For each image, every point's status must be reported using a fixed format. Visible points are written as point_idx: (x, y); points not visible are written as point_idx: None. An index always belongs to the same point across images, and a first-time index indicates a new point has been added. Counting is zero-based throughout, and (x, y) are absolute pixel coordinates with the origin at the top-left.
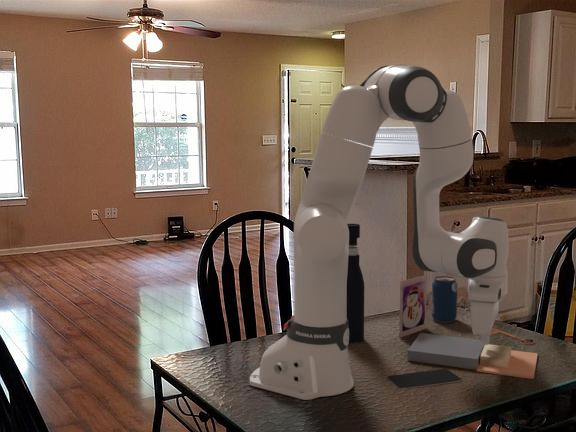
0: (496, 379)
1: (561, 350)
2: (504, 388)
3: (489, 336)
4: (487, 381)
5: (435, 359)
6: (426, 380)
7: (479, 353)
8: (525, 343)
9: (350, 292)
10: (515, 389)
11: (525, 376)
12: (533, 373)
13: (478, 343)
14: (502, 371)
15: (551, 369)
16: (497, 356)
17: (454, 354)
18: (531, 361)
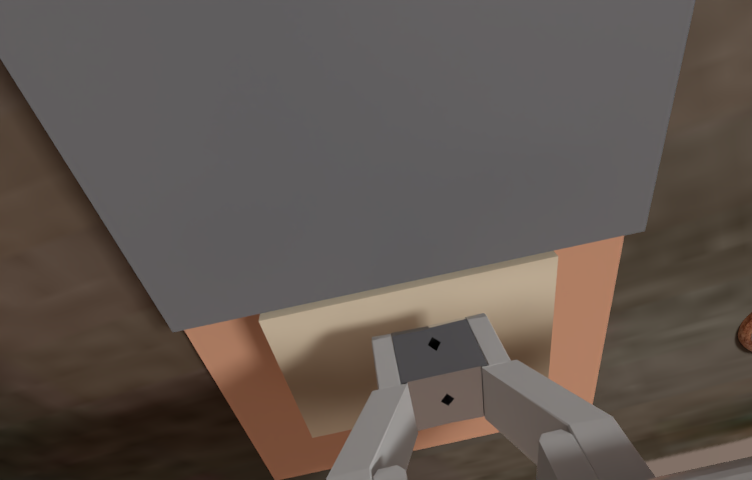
0: (143, 389)
1: (676, 435)
2: (65, 442)
3: (435, 426)
4: (73, 372)
5: None
6: None
7: (307, 299)
8: (749, 331)
9: None
10: (99, 467)
11: (265, 458)
12: (315, 470)
13: (550, 212)
14: (242, 394)
15: (430, 472)
16: (322, 392)
17: (116, 144)
18: (466, 427)
